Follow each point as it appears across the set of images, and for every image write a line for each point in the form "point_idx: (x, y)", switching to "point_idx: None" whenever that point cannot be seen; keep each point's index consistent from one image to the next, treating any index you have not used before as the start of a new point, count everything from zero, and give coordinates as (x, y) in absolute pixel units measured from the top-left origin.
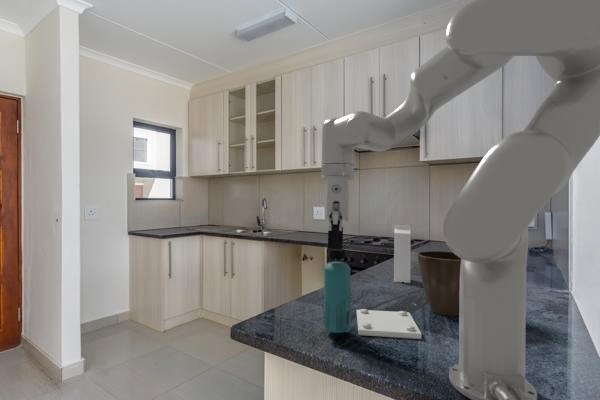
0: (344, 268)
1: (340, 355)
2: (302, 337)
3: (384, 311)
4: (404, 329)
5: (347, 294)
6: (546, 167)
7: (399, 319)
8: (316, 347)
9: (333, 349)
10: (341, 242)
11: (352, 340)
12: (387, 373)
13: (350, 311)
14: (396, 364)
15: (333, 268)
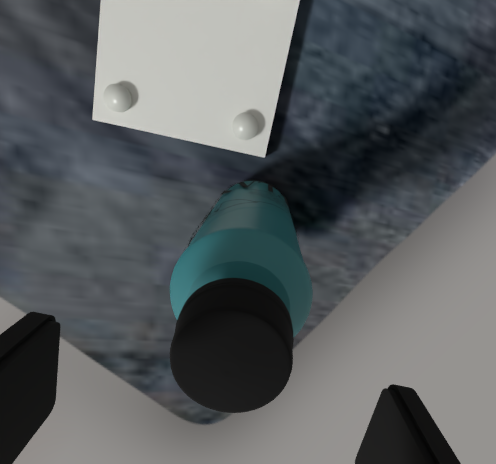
0: (300, 275)
1: (370, 228)
2: None
3: (105, 14)
4: (273, 2)
5: (288, 221)
6: None
7: None
8: (324, 274)
9: (339, 238)
10: (435, 435)
11: (295, 181)
12: (470, 143)
13: (266, 191)
14: (437, 106)
15: (296, 329)
